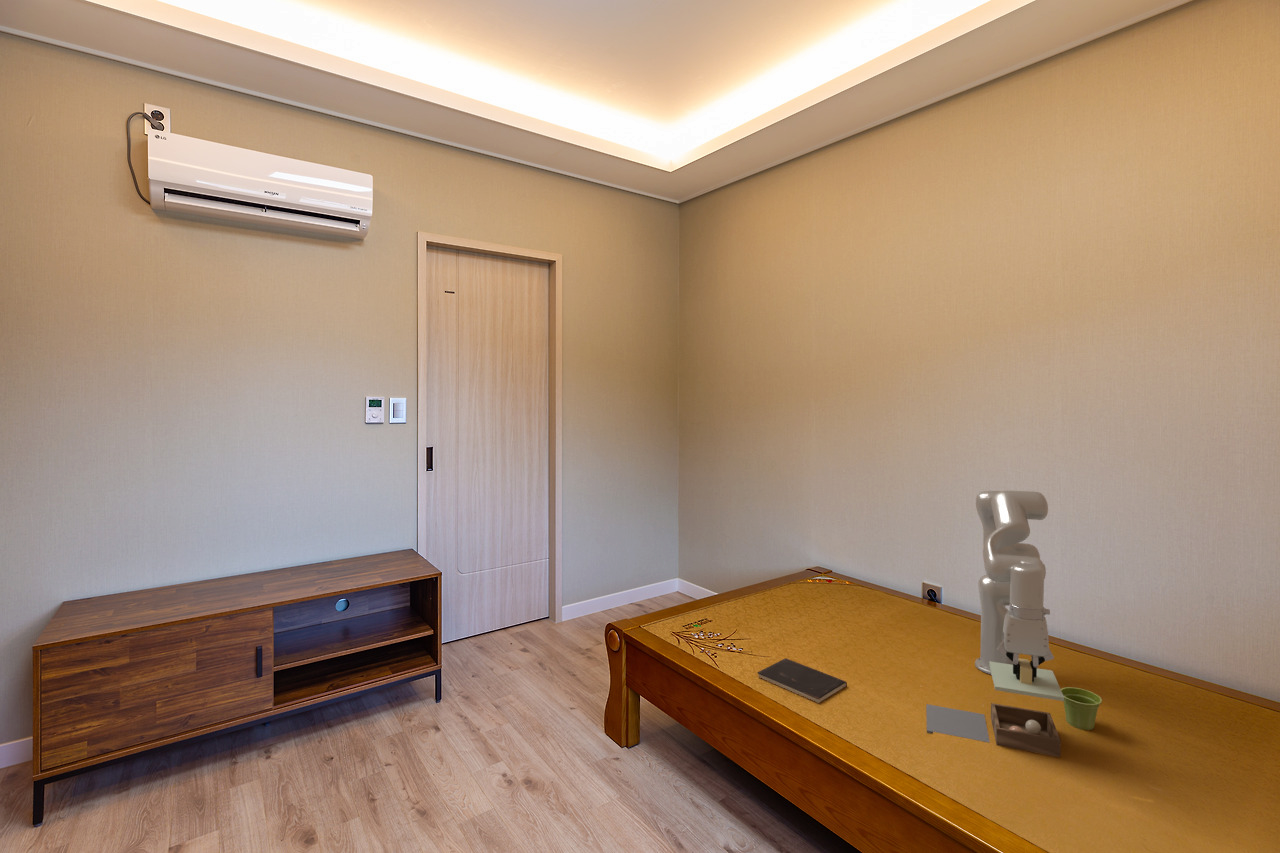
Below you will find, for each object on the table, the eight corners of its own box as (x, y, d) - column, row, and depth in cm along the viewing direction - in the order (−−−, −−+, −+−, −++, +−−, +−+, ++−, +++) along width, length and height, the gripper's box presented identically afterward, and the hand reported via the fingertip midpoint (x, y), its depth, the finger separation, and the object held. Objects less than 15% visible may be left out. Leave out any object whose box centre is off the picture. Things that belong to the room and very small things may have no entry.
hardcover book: (818, 705, 184) (818, 698, 184) (757, 679, 201) (757, 672, 201) (847, 687, 194) (847, 680, 194) (786, 664, 212) (786, 657, 212)
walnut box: (990, 720, 173) (991, 702, 173) (1049, 730, 167) (1050, 712, 167) (996, 746, 160) (996, 728, 160) (1060, 759, 155) (1060, 740, 154)
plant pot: (1083, 738, 164) (1084, 706, 163) (1050, 719, 173) (1051, 689, 172) (1109, 732, 166) (1110, 701, 166) (1076, 714, 175) (1077, 684, 175)
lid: (989, 664, 173) (989, 647, 173) (1052, 674, 167) (1052, 656, 167) (995, 690, 160) (995, 671, 159) (1064, 701, 153) (1064, 682, 153)
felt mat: (926, 706, 181) (926, 704, 181) (984, 716, 175) (984, 714, 175) (926, 732, 168) (926, 730, 168) (989, 744, 161) (989, 742, 161)
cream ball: (1024, 728, 167) (1024, 716, 167) (1039, 731, 166) (1040, 718, 166) (1026, 735, 164) (1026, 722, 164) (1042, 738, 163) (1042, 725, 162)
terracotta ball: (1007, 734, 165) (1007, 721, 164) (1023, 737, 163) (1023, 724, 163) (1009, 741, 161) (1009, 728, 161) (1025, 745, 160) (1025, 731, 160)
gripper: (1059, 610, 162) (1057, 677, 163) (989, 602, 168) (988, 666, 170) (1065, 620, 155) (1063, 690, 156) (992, 612, 162) (991, 679, 163)
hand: (1024, 677), depth 163 cm, fingers closed on lid, 2 cm apart
